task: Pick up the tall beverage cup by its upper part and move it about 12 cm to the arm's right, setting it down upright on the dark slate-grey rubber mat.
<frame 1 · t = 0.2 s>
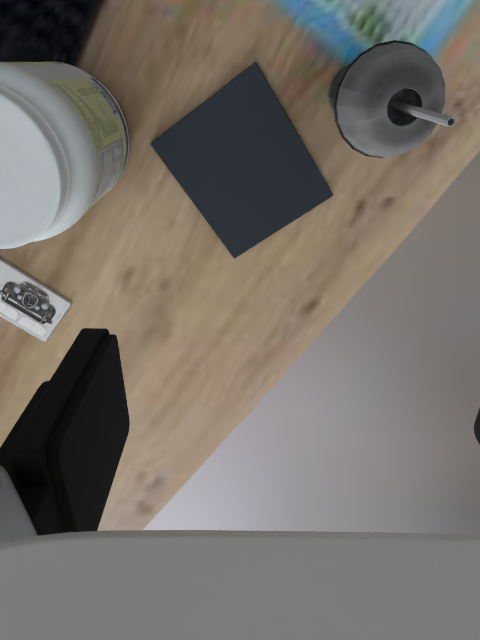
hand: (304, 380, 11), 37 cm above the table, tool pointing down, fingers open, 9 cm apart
supplement tub: (69, 134, 44), on the table
beverage cup: (353, 92, 41), on the table
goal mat: (244, 169, 45), on the table
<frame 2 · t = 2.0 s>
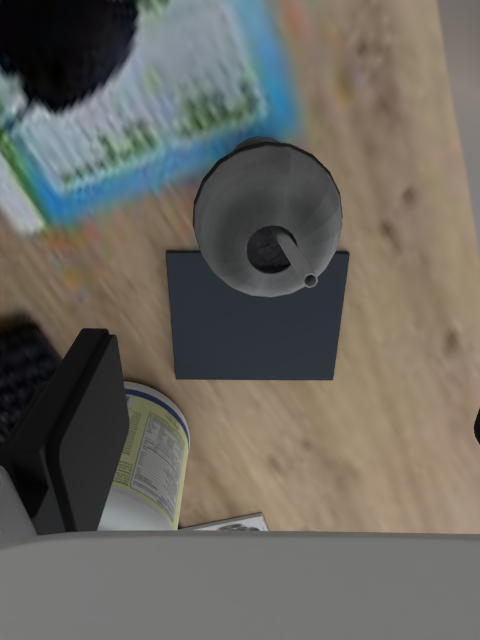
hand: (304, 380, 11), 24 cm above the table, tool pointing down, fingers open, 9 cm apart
vintage car picture box: (207, 541, 53), on the table
supplement tub: (129, 424, 44), on the table
beverage cup: (259, 170, 32), on the table
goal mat: (255, 318, 38), on the table
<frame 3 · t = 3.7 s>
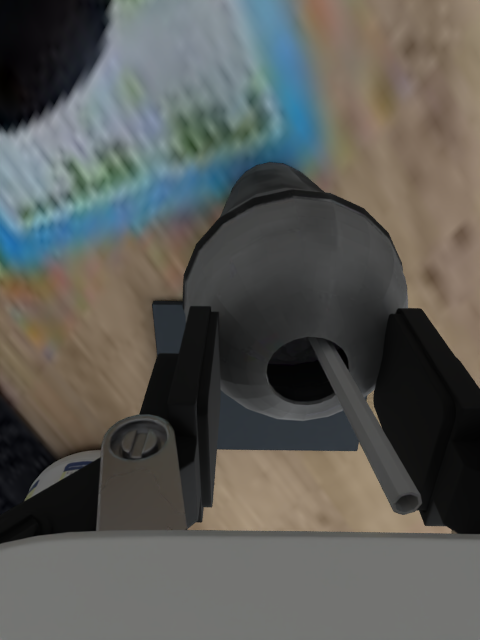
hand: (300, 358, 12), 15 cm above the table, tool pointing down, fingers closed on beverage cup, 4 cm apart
supplement tub: (112, 495, 37), on the table
beverage cup: (270, 203, 25), on the table, touching gripper
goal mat: (264, 380, 31), on the table
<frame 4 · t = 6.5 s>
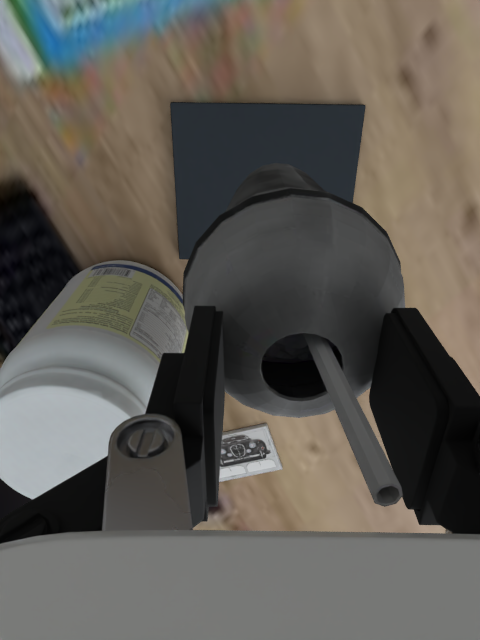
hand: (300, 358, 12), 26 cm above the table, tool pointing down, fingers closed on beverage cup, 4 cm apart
vintage car picture box: (209, 457, 51), on the table
supplement tub: (129, 316, 42), on the table
beverage cup: (276, 204, 25), point 11 cm above the table, touching gripper
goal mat: (264, 187, 36), on the table
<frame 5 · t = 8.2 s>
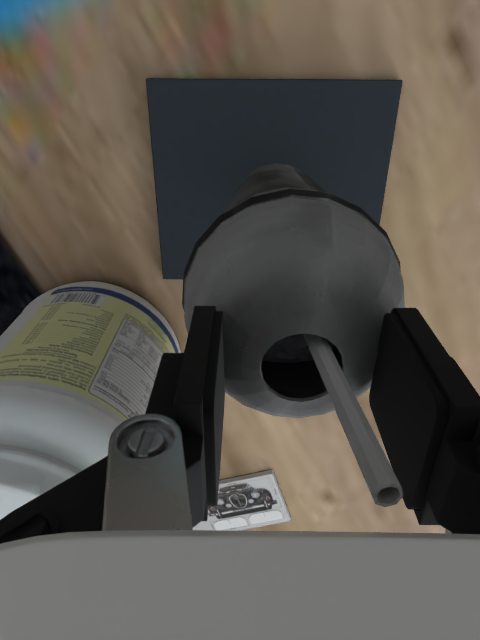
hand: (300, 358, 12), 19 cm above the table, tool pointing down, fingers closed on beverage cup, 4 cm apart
vintage car picture box: (205, 507, 43), on the table
supplement tub: (104, 347, 34), on the table
beverage cup: (275, 204, 25), point 3 cm above the table, touching gripper
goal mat: (269, 188, 28), on the table
when the fingers open (15 cm above the table, at t = 9.4 s): beverage cup stays where it is, resting on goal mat.
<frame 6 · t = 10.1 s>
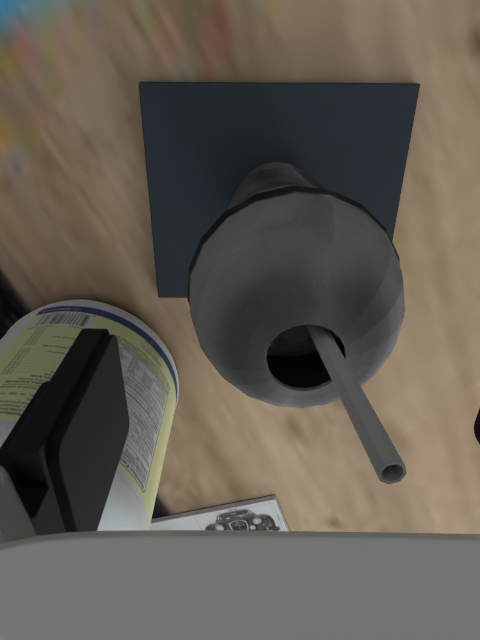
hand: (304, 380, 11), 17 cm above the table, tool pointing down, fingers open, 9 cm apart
vintage car picture box: (204, 533, 41), on the table
supplement tub: (96, 368, 32), on the table
beverage cup: (275, 202, 26), resting on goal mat
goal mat: (273, 201, 26), on the table
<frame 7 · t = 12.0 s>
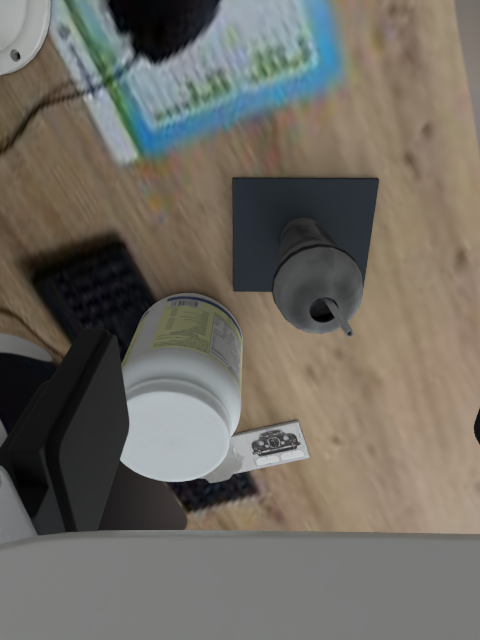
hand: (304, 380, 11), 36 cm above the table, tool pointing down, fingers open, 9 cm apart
vintage car picture box: (249, 448, 62), on the table
supplement tub: (191, 334, 53), on the table
beverage cup: (302, 238, 47), resting on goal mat
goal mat: (301, 237, 47), on the table
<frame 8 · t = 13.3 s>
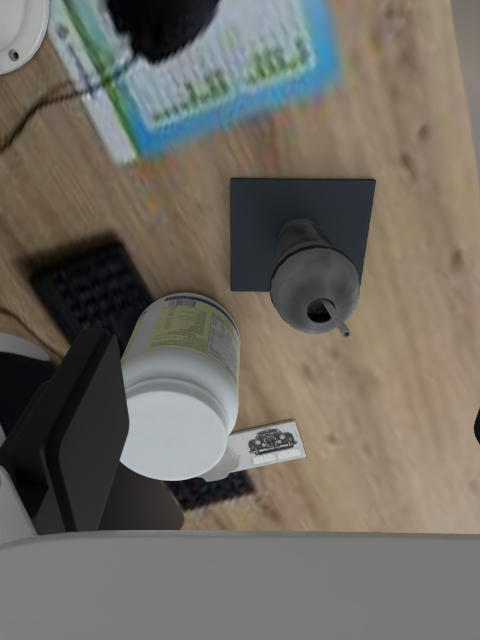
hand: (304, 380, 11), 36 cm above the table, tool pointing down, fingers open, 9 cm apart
vintage car picture box: (246, 447, 62), on the table
supplement tub: (188, 334, 53), on the table
beverage cup: (299, 238, 47), resting on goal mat
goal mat: (298, 237, 47), on the table
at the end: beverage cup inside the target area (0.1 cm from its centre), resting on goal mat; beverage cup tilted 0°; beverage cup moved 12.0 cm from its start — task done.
